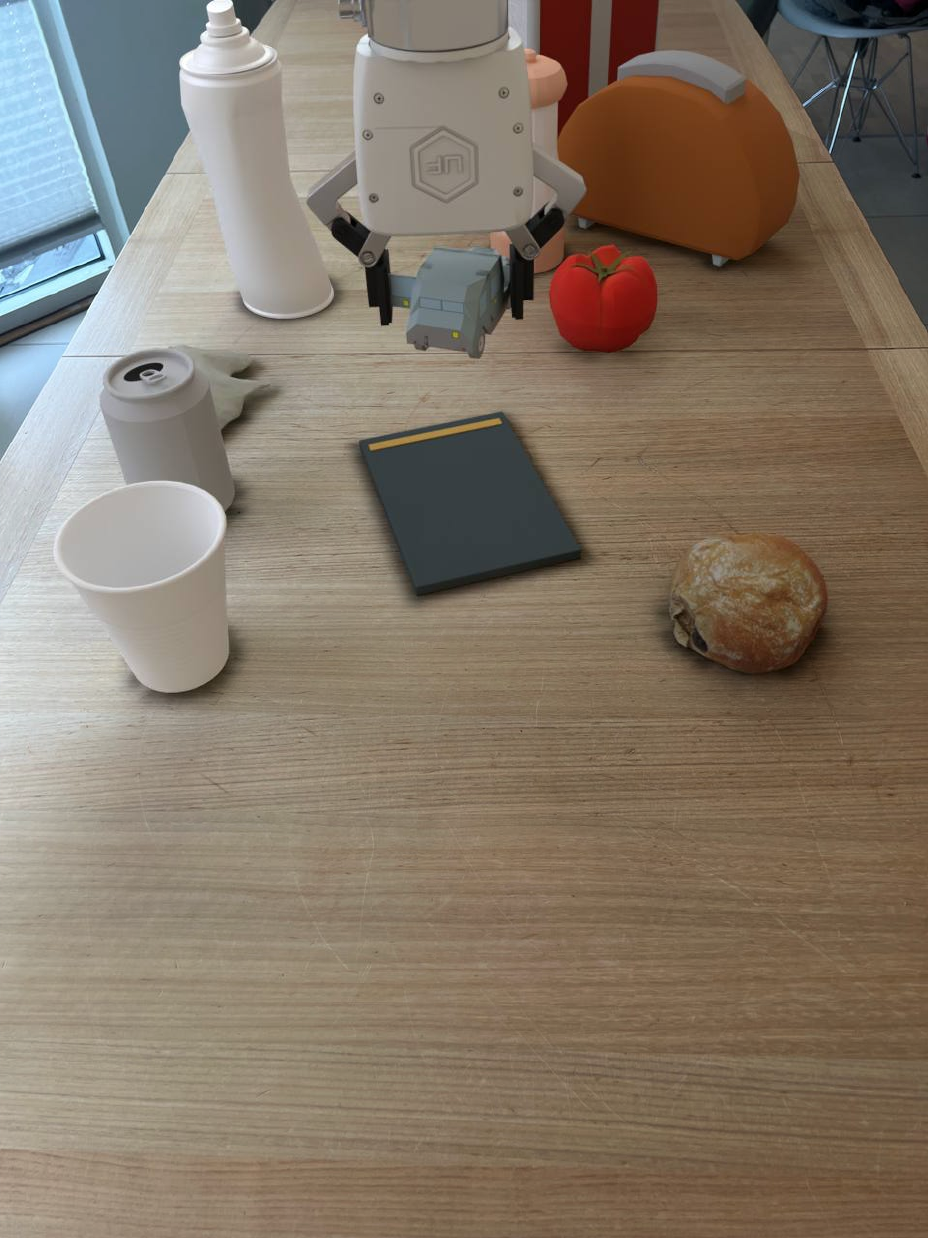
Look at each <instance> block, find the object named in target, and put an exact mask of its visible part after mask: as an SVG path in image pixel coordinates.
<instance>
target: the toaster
mask: <svg viewBox="0 0 928 1238" xmlns="http://www.w3.org/2000/svg"><path fill="white" fill-rule="evenodd" d="M557 151H558V159H559V161H561V162H562V163H564V164H565V165H566V166H568V167H569V168H571V169H572V170H574V171H575V172H577V173H578V174H580V175H581V176H582V177H583V179H584V182H585V186H586V194H585V196H584V197H583V198H582V200H581V201H580V202H579V204H578V205H577V206H576V208H575V209H574V210H573V212H572V213H571V214H570V215H569V216H572V217H573V216H574V217H577V219H578V226H579V228H581V229H585V230H587V229H588V228H589V227H591V226H592V225H594V224H595V223H598V224H601V225H605V226H609V227H612V228H614V229H615V228H616V229H620V230H623V231H626V232H630V233H634V234H637V235H641V236H645V237H649V238H652V239H655V240H658V241H659V240H660V241H663V242H666V243H669V244H674V245H678V246H681V247H684V248H687V249H692V250H695V251H700V252H702V253H706V254H710V255H711V257H712V264H713V266H716V267H722V266H723V265H724V264H725V263H726V262H728V260H733V261H740V260H742V259H744V258H747V257H748V256H750V255H752V254H754V253H755V252H756V251H758V250H759V249H760V248H761V247H762V246H763V245H764V244H765V243H767V242H768V241H769V240H770V239H771V238H772V237H774V235H776V234H777V233H778V232H779V231H781V230H782V228H784V227H785V226H786V225H787V224H788V223H789V221H790V219H791V216H792V214H793V211H794V209H795V207H796V204H797V197H798V191H799V183H800V176H801V173H800V169H799V165H798V160H797V156H796V151H795V146H794V142H793V139H792V137H791V134H790V133H789V130H788V128H787V126H786V123H785V120H784V118H783V116H782V113H781V112H780V110H778V108H776V106H775V105H774V104H773V103H772V101H771V100H770V99H769V98H768V96H766V94H765V93H764V92H763V91H762V90H761V89H760V88H759V87H757V86H756V85H755V84H754V83H753V82H752V81H750V80H749V79H748V78H747V77H746V76H745V75H744V74H742V72H740V71H737V70H736V69H734V68H732V67H731V66H729V65H727V63H724V62H722V61H719V60H717V59H715V58H712V57H711V56H708V55H706V54H705V55H704V54H700V53H698V52H693V51H688V50H677V49H671V50H658V51H655V52H651V53H647V54H643V55H638V56H637V57H635V58H633V59H631V60H630V61H628V62H626V63H624V64H623V65H621V66H619V67H618V78H617V81H615V82H613V83H612V84H610V85H608V86H607V87H605V88H603V89H601V90H600V91H598V92H597V93H595V94H594V95H592V96H591V97H589V98H588V99H586V100H585V101H584V102H582V103H581V104H579V105H578V107H577V108H576V110H575V111H574V113H573V114H572V115H571V117H570V118H569V120H568V121H567V123H566V124H565V126H564V127H563V129H562V131H561V133H560V136H559V138H558V140H557Z"/></svg>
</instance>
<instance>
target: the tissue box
mask: <svg viewBox="0 0 928 1238" xmlns="http://www.w3.org/2000/svg"><path fill="white" fill-rule="evenodd" d="M662 8H663V0H508V26H509V27H511V28H513V29H515V30H516V31H517V32H518V33H519V36H520V37H521V39H522V42H523V47H524V49H532V50H534V51H535V52H536V54H537V55H542V56H545V57H548V58H550V59H553V60H555V61H557V62H558V63H559V64H560V65H561V67H562V68H563V70H564V72H565V75H566V80H567V87H566V90H565V92H564V94H563V96H562V98H561V100H559V101H558V118H557V140H558V138H559V136H560V133H561V131H562V129H563V127H564V126H565V124H566V123H567V121H568V120H569V118H570V117H571V115H572V114H573V113H574V111H575V110H576V108H577V107H578V105H579V104H581V103H582V102H584V101H585V100H586V99H588V98H589V97H591V96H592V95H594V94H595V93H597V92H598V91H600V90H601V89H603V88H605V87H607V86H608V85H610V84H612V83H613V82H615V81H617V78H618V67H619V66H621V65H623V64H624V63H626V62H628V61H630V60H631V59H633V58H635V57H637V56H638V55H643V54H647V53H651V52H655V51H659V47H660V46H659V45H660V32H661V21H662Z"/></svg>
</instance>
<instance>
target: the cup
mask: <svg viewBox="0 0 928 1238" xmlns="http://www.w3.org/2000/svg"><path fill="white" fill-rule="evenodd" d="M227 528H228V525H227V515H226V513H225V512H224V510H223V508H222V506H221V505H220V503H219V502H218V501H217V500H216V498H215V497H213V496H212V495H211V494H209V493H208V492H206V491H205V490H203V489H200V488H198V487H196V486H193V485H189V484H185V483H182V482H173V481H148V482H141V483H134V484H130V485H126V484H125V485H123V486H118V487H115V488H113V489H111V490H109V491H106V492H104V493H102V494H100V495H97V496H96V497H93V498H92V499H90V500H88V501H86V502H85V503H84V504H83V505H81V506H80V507H78V508H77V509H76V510H75V511H74V512H73V513H71V515H69V517H67V519H66V520H65V521H64V523H63V524H62V525H61V526H60V528H59V529H58V531H57V534H56V536H55V538H54V541H53V547H52V548H53V550H52V555H53V559H54V560H53V561H54V565H55V566H56V568H57V570H58V571H59V573H60V574H61V576H63V577H64V578H65V579H66V580H67V581H68V582H69V583H71V584H72V585H73V587H74V588H75V590H76V591H77V593H78V594H79V596H80V597H81V598H82V600H83V602H84V603H85V604H86V606H87V607H88V609H89V610H90V611H91V613H92V614H93V615H94V617H95V619H96V620H97V621H98V623H99V624H100V626H101V627H102V629H103V630H104V632H105V633H106V634H107V636H108V638H109V639H110V641H111V642H112V643H113V644H114V646H115V649H117V650H118V652H119V653H120V655H121V656H122V658H123V659H124V661H125V663H126V664H127V666H128V667H129V668H130V670H131V672H132V673H133V675H134V676H135V677H136V679H137V680H138V681H139V682H140V683H141V684H142V685H143V686H144V687H146V688H148V689H150V690H153V691H156V692H159V693H165V694H166V693H167V694H168V693H171V694H172V693H183V692H189V691H191V690H192V691H193V690H195V689H198V688H199V687H202V686H204V685H205V684H207V683H208V682H210V681H212V680H213V679H214V678H216V676H217V675H219V673H220V672H221V671H222V670H223V668H224V667H225V665H226V663H227V661H228V659H229V655H230V643H229V642H230V640H229V639H230V638H229V622H228V620H229V619H228V603H227V582H226V580H227V579H226V560H225V558H226V557H225V537H226V533H227Z"/></svg>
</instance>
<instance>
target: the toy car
mask: <svg viewBox="0 0 928 1238" xmlns="http://www.w3.org/2000/svg"><path fill="white" fill-rule="evenodd" d="M388 279H389V290H390V301H391V306H393V308H401V309H407V310H409V315H408V316H409V317H408V322H407V325H406V326H407V327H406V331H405V337H406V338H405V339H406V344H408V345H413V347H414V349H415V350H417V351H423V352H426V351H427V350H428V349H430V348H435V349H441V350H446V351H447V350H448V351H454V352H462V353H467V355H468V357H469V358H470V359H475V360H479V359H481V358H482V355H483V354H484V351H485V346H486V335H491V336H492V335H493V332H494V330H495V329H496V327H497V326H498V324H499V322H500V321H501V319H502V318H503V316H504V314H505V313H506V311H507V310H508V311H509V310H511V304H510V258H509V259H508V258H507V257H505V256H501V254H498V253H497V250H496V249H491V247H482V246H473V247H471V248H469V249H463V248H455V247H448V246H439V245H436V246H435V247H434V248H433V249H432V250H431V252H430V254H429V255H428V256H427V257H426V258H425V260H424V261H423V263H422V264H421V265H420V266H419V268H418V271H417V274H416V276H415V275H414V276H412V275H405V274H400V273H399V274H398V273H392V272H390V273H389V274H388Z"/></svg>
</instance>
